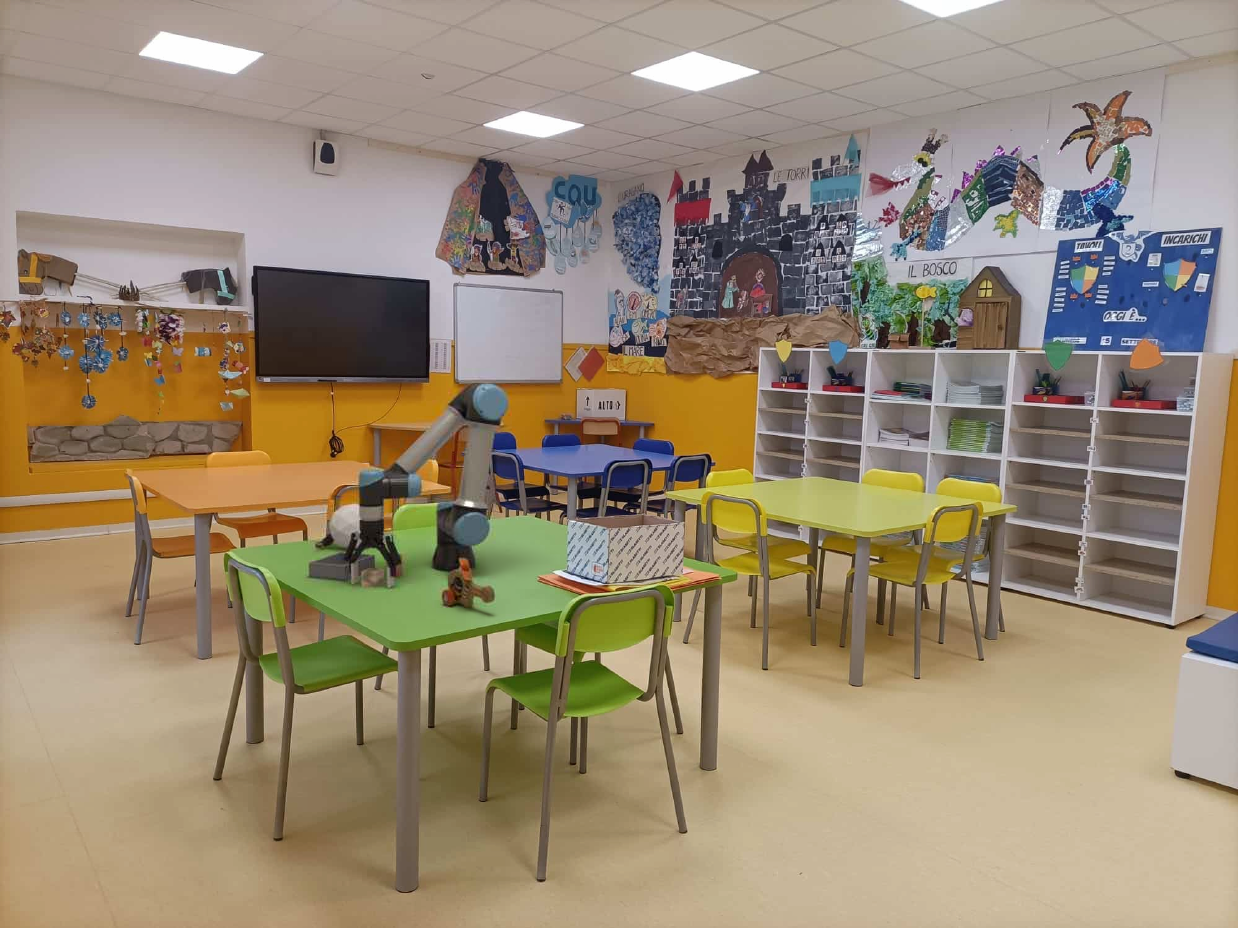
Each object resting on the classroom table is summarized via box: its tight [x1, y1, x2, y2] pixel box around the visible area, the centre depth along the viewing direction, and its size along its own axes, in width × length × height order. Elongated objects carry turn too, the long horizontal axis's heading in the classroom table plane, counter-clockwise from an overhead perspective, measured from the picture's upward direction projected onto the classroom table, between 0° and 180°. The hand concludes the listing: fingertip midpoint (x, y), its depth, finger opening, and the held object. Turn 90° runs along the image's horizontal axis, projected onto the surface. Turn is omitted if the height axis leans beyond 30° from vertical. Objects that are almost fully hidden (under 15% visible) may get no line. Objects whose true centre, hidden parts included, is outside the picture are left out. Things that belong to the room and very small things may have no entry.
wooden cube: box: [360, 567, 385, 589], centre depth 277 cm, size 5×5×5 cm
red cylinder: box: [386, 553, 403, 579], centre depth 290 cm, size 5×5×7 cm
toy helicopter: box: [441, 558, 496, 609], centre depth 253 cm, size 8×21×14 cm, turn 46°
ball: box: [314, 495, 362, 550], centre depth 330 cm, size 17×25×24 cm
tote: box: [308, 551, 376, 582], centre depth 292 cm, size 18×14×5 cm
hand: (372, 584), depth 278 cm, fingers open, 12 cm apart
